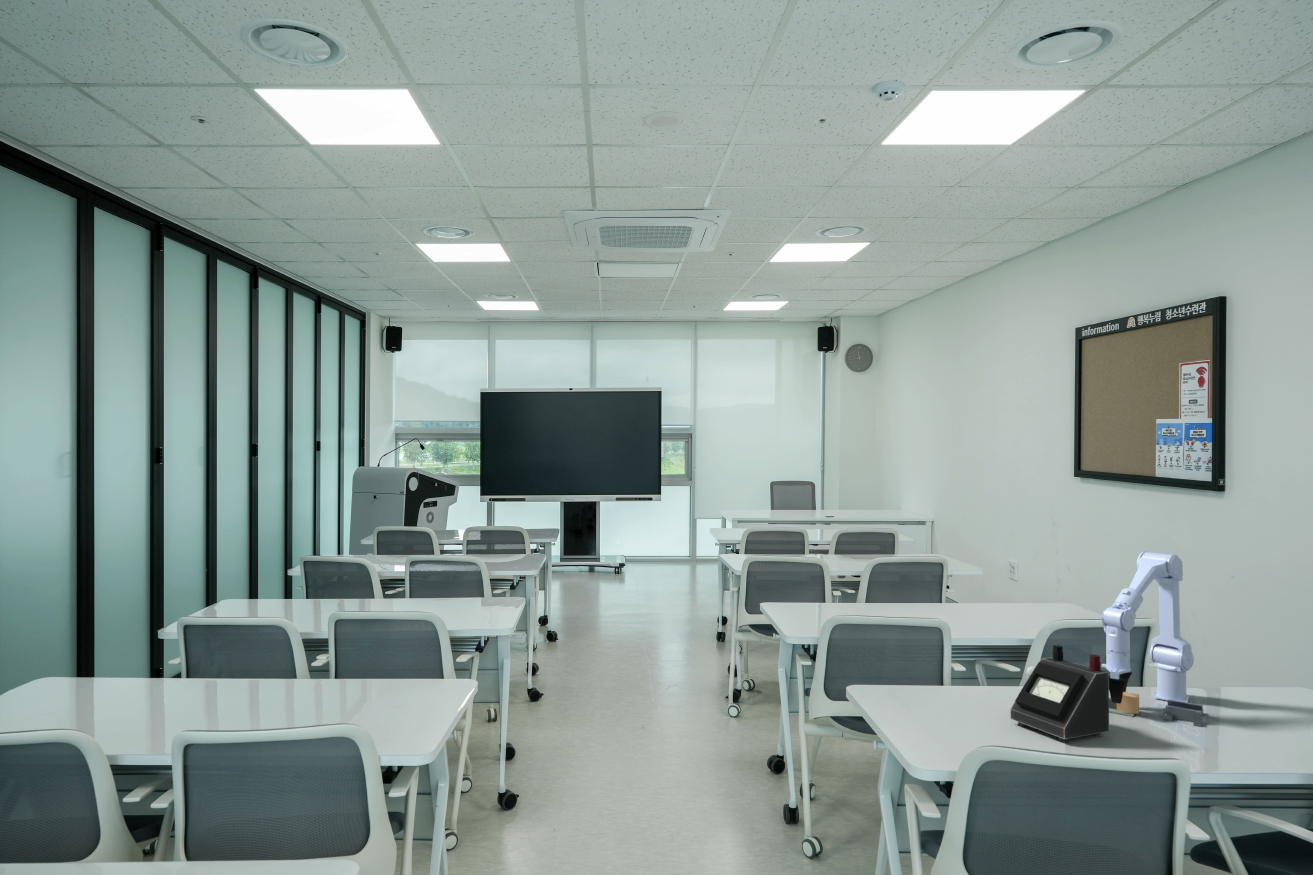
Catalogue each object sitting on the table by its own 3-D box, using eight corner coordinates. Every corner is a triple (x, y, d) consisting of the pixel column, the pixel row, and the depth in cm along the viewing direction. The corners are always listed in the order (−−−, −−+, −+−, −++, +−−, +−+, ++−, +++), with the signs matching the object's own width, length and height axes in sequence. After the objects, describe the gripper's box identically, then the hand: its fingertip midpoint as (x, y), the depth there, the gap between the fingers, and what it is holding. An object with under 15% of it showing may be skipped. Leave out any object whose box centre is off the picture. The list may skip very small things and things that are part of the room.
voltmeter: (1009, 724, 200) (1009, 647, 201) (1053, 717, 206) (1053, 643, 207) (1063, 745, 185) (1063, 662, 186) (1109, 736, 192) (1108, 657, 192)
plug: (1086, 701, 220) (1086, 685, 220) (1139, 710, 212) (1139, 694, 212) (1084, 704, 217) (1084, 688, 217) (1137, 714, 209) (1137, 697, 209)
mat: (1104, 703, 219) (1104, 702, 219) (1136, 709, 214) (1136, 708, 214) (1099, 710, 213) (1099, 709, 213) (1133, 716, 208) (1133, 715, 208)
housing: (1168, 707, 217) (1168, 696, 217) (1203, 712, 212) (1203, 702, 212) (1164, 719, 205) (1164, 708, 206) (1200, 726, 201) (1200, 715, 201)
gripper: (1105, 644, 222) (1105, 690, 222) (1097, 653, 211) (1098, 702, 210) (1133, 648, 218) (1133, 695, 217) (1127, 657, 206) (1127, 707, 206)
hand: (1118, 699), depth 213 cm, fingers open, 7 cm apart
